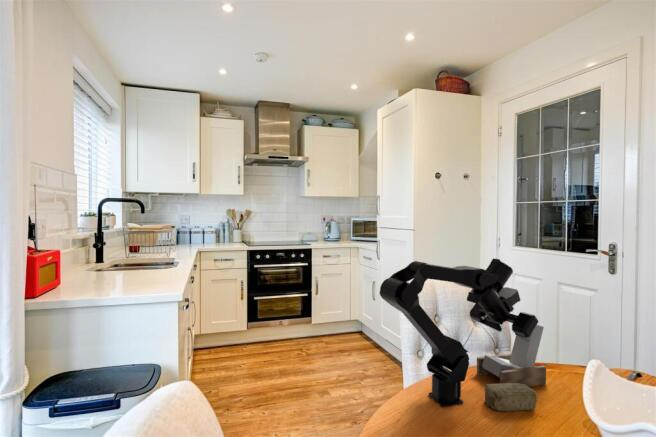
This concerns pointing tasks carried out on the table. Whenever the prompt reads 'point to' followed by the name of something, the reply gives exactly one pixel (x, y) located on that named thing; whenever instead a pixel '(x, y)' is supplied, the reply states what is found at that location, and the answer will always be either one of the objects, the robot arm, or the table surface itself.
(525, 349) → the granite pillar
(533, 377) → the frame
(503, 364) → the trapdoor flap
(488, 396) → the stone block
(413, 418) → the table surface
